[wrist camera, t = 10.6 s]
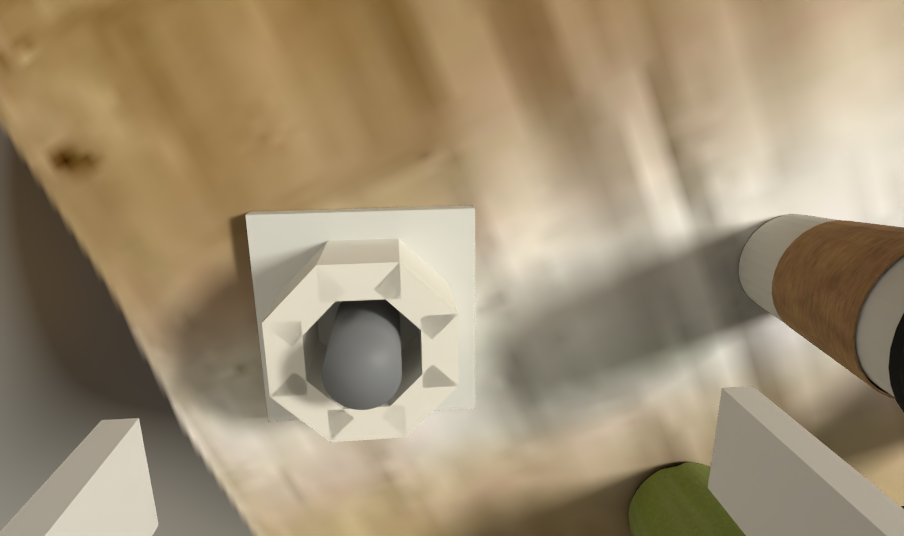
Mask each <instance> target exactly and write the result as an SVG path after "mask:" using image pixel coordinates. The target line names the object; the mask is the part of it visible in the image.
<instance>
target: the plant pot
mask: <svg viewBox="0 0 904 536" xmlns="http://www.w3.org/2000/svg"><path fill="white" fill-rule="evenodd" d="M710 468H711V467H709V466H706V465H703V464H699V463H693V462H690V463H683V464H681V465H679V466H676V467H671V468H665V469H661V470H659V471H657V472H656V473H654V474H653V475H652V476H650V477H649V478H648V479H647V480H645V481H644V482H643V483H642V484H641V486H640V487H639V488H638V490H637V491H636V493H635V494H634V496H633V498H632V501H631V503H630V506H629V512H628V516H629V526H630V531H631V534H632V536H746V535H745V534H744V533H743V531H742V530H741V529H740V528H739V526H738V525H737V524H736V523H735V521H734V520H733V519H732V518H731V516H730V515H729V514H728V513H727V511H726V510H725V509H724V507H723V506H722V505H721V504H720V502H719V501H718V500H717V499H716V497H715V496H714V495H713V494H712V492H711V491H710V490H709V489H708V482H709V475H710Z"/></svg>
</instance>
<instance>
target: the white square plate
mask: <svg viewBox="0 0 904 536" xmlns="http://www.w3.org/2000/svg"><path fill="white" fill-rule="evenodd" d="M245 216H246V225H247V234H248V243H249V252H250V261H251V271H252V280H253V289H254V298H255V307H256V316H257V325H258V334H259V343H260V352H261V361H262V371H263V380H264V389H265V398H266V407H267V416H268V422H269V421H285V420H300V419H299V418H297V417H296V416H295V415H293V414H292V413H291V412H289V411H288V410H287V409H285V408H284V407H283V406H281V405H280V404H279V403H277V402H276V401H275V400H273V399H272V398H271V397H270V394H269V384H268V375H267V366H266V356H265V347H264V337H263V328H262V322H263V320H264V319H265V317H266V316H267V314H268V312H269V311H270V309H271V307H272V306H273V304H274V302H275V301H276V299H277V297H278V296H279V294H280V292H281V291H282V289H283V288H284V287H285V286H286V285H287V284H288V283H289V282H290V281H291V280H292V279H293V278H294V276H295V275H296V274H297V273H298V272H299V271H300V270H301V269H302V268H303V267H304V266H305V265H306V264H307V263H308V262H309V260H310V259H311V258H312V257H313V256H314V255H315V254H316V253H317V252H318V251H319V250H320V249H321V248H322V247H323V246H324V244H325V243H326V242H327V241H331V240H361V239H391V238H399V239H400V240H401V241H402V242H403V243H404V244H405V245H406V246H408V247H409V248H410V249H411V250H412V251H413V252H414V253H415V254H416V255H417V256H419V257H420V258H421V259H422V260H423V261H424V262H425V263H426V264H427V265H429V266H430V267H431V268H432V269H433V270H434V271H435V272H436V273H437V274H438V275H440V276H441V277H442V278H443V279H444V280H445V281H446V282H447V283H448V285H449V288H450V291H451V294H452V297H453V300H454V303H455V307H456V310H457V313H458V376H459V386H458V387H457V388H456V389H455V390H454V391H453V392H452V393H451V394H450V395H449V396H448V397H447V398H446V399H445V400H444V401H443V402H442V403H441V404H440V405H439V406H438V407H437V408H436V409H435V410H433V411H445V410H461V409H475V208H474V207H473V205H465V206H431V207H396V208H361V209H327V210H292V211H257V212H249V213H248V214H246V215H245ZM317 321H318V334H319V340H320V341H321V342H322V343H323V344H325V345H326V346H327V351H326V354H325V358H324V362H323V366H322V372H321V373H322V382H323V385H324V388H325V390H326V391H327V393H328V394H329V396H330V397H331V398H332V399H333V400H334V401H336V402H337V403H339V404H340V405H342V406H344V407H347V408H350V409H355V410H368V409H373V408H376V407H379V406H381V405H383V404H384V403H386V402H387V401H389V400H390V399H391V398H392V397H393V396H394V395H395V393H396V392H397V390H398V388H399V386H400V383H401V379H402V360H401V352H402V351H403V350H404V349H405V348H406V347H407V346H408V345H409V344H410V343H411V342H412V341H413V340H414V339H415V337H416V336H417V335H418V327H417V326H416V325H415V324H413V323H412V322H411V321H410V320H409V319H408V318H406V317H405V316H404V315H403V314H402V313H401V312H400V311H398V310H397V309H396V308H395V307H394V306H393V305H391V304H390V303H389V302H388V301H387V300H386V299H381V300H358V301H335V302H334V303H333V304H332V305H331V307H330V308H329V309H328V310H327V311H326V312H325V313H324V314H323V315H322V316H321V317H320V318H319V319H318V320H317Z"/></svg>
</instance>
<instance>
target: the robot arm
mask: <svg viewBox="0 0 904 536" xmlns="http://www.w3.org/2000/svg"><path fill="white" fill-rule="evenodd" d="M708 489H709V490H710V491H711V492H712V494H713V495H714V496H715V497H716V499H717V500H718V501H719V502H720V504H721V505H722V506H723V507H724V509H725V510H726V511H727V513H728V514H729V515H730V516H731V518H732V519H733V520H734V521H735V523H736V524H737V525H738V526H739V528H740V529H741V530H742V531H743V533H744V534H745V535H746V536H904V506H899V505H898V504H897V503H896V502H894V501H893V500H892V499H891V498H889V497H888V496H887V495H886V494H885V493H883V492H882V491H881V490H880V489H878V488H877V487H876V486H875V485H874V484H872V483H871V482H870V481H869V480H867V479H866V478H865V477H864V476H862V475H861V474H860V473H859V472H858V471H856V470H855V469H854V468H853V467H851V466H850V465H849V464H848V463H847V462H845V461H844V460H843V459H842V458H840V457H839V456H838V455H837V454H836V453H834V452H833V451H832V450H831V449H829V448H828V447H827V446H826V445H824V444H823V443H822V442H821V441H820V440H818V439H817V438H816V437H815V436H813V435H812V434H811V433H810V432H809V431H807V430H806V429H805V428H804V427H802V426H801V425H800V424H799V423H797V422H796V421H795V420H794V419H793V418H791V417H790V416H789V415H788V414H786V413H785V412H784V411H783V410H782V409H780V408H779V407H778V406H777V405H775V404H774V403H773V402H772V401H770V400H769V399H768V398H767V397H766V396H764V395H763V394H762V393H761V392H759V391H758V390H757V389H756V388H755V387H753V386H750V387H730V388H722V392H721V399H720V406H719V413H718V420H717V427H716V434H715V441H714V448H713V455H712V462H711V468H710V475H709V482H708ZM157 526H158V520H157V514H156V509H155V504H154V498H153V492H152V487H151V482H150V476H149V471H148V465H147V460H146V454H145V449H144V443H143V438H142V432H141V427H140V422H139V418H134V419H115V420H101V421H100V422H99V424H98V425H97V426H96V427H95V428H94V429H93V430H92V431H91V432H90V433H89V435H88V436H87V437H86V438H85V439H84V440H83V441H82V442H81V443H80V445H79V446H78V447H77V448H76V449H75V450H74V451H73V452H72V453H71V454H70V455H69V456H68V458H67V459H66V460H65V461H64V462H63V463H62V464H61V465H60V467H59V468H58V469H57V470H56V471H55V472H54V473H53V474H52V475H51V476H50V477H49V479H48V480H47V481H46V482H45V483H44V484H43V485H42V486H41V487H40V488H39V490H38V491H37V492H36V493H35V494H34V495H33V496H32V497H31V498H30V499H29V500H28V501H27V503H26V504H25V505H24V506H23V507H22V508H21V509H20V510H19V511H18V512H17V514H16V515H15V516H14V517H13V518H12V519H11V520H10V521H9V522H8V524H7V525H6V526H5V527H4V528H3V529H2V530H1V531H0V536H152V535H153V533H154V532H155V530H156V528H157Z"/></svg>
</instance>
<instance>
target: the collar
mask: <svg viewBox="0 0 904 536" xmlns="http://www.w3.org/2000/svg"><path fill="white" fill-rule="evenodd" d="M381 299H386V300H387V301H388V302H389V303H390V304H391V305H393V306H394V307H395V308H396V309H397V310H398V311H400V312H401V313H402V314H403V315H404V316H405V317H406V318H408V319H409V320H410V321H411V322H412V323H413V324H415V325H416V326H417V327H418V335H417V336H416V337H415V339H414V340H413V341H412V342H411V343H410V344H409V345H408V346H407V347H406V348H405V349H404V350H403V351H402V352H401V360H402V379H401V383H400V386H399V388H398V390H397V392H396V393H395V395H394V396H393V397H392V398H391V399H390V400H389V401H387V402H386V403H384V404H383V405H381V406H379V407H376V408H373V409H368V410H355V409H350V408H347V407H344V406H342V405H340V404H339V403H337V402H336V401H334V400H333V399H332V398H331V397H330V396H329V394H328V393H327V391H326V390H325V388H324V385H323V382H322V373H321V372H322V366H323V362H324V358H325V354H326V351H327V346H326V345H325V344H323V343H322V342H321V341H320V340H319V334H318V321H317V320H318V319H319V318H320V317H321V316H322V315H323V314H324V313H325V312H326V311H327V310H328V309H329V308H330V307H331V305H332V304H333V303H334V302H335V301H358V300H381ZM262 328H263V337H264V347H265V356H266V366H267V375H268V384H269V394H270V397H271V398H272V399H273V400H275V401H276V402H277V403H279V404H280V405H281V406H283V407H284V408H285V409H287V410H288V411H289V412H291V413H292V414H293V415H295V416H296V417H297V418H299V419H300V420H301V421H303V422H304V423H305V424H307V425H308V426H309V427H311V428H312V429H313V430H315V431H316V432H317V433H319V434H320V435H321V436H323V437H324V438H325V439H327V440H328V441H329V442H340V441H355V440H371V439H386V438H401V437H407V436H408V435H409V434H410V433H411V432H412V431H413V430H414V429H415V428H416V427H417V426H418V425H419V424H420V423H421V422H422V421H423V420H424V419H425V418H426V417H427V416H428V415H429V414H430V413H431V412H432V411H433V410H435V409H436V408H437V407H438V406H439V405H440V404H441V403H442V402H443V401H444V400H445V399H446V398H447V397H448V396H449V395H450V394H451V393H452V392H453V391H454V390H455V389H456V388H457V387H458V386H459V376H458V313H457V310H456V307H455V303H454V300H453V297H452V294H451V291H450V288H449V285H448V283H447V282H446V281H445V280H444V279H443V278H442V277H441V276H440V275H438V274H437V273H436V272H435V271H434V270H433V269H432V268H431V267H430V266H429V265H427V264H426V263H425V262H424V261H423V260H422V259H421V258H420V257H419V256H417V255H416V254H415V253H414V252H413V251H412V250H411V249H410V248H409V247H408V246H406V245H405V244H404V243H403V242H402V241H401V240H400V239H399V238H391V239H361V240H331V241H327V242H326V243H325V244H324V246H323V247H322V248H321V249H320V250H319V251H318V252H317V253H316V254H315V255H314V256H313V257H312V258H311V259H310V260H309V262H308V263H307V264H306V265H305V266H304V267H303V268H302V269H301V270H300V271H299V272H298V273H297V274H296V275H295V276H294V278H293V279H292V280H291V281H290V282H289V283H288V284H287V285H286V286H285V287H284V288H283V289H282V291H281V292H280V294H279V296H278V297H277V299H276V301H275V302H274V304H273V306H272V307H271V309H270V311H269V312H268V314H267V316H266V317H265V319H264V320H263V322H262Z"/></svg>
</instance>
